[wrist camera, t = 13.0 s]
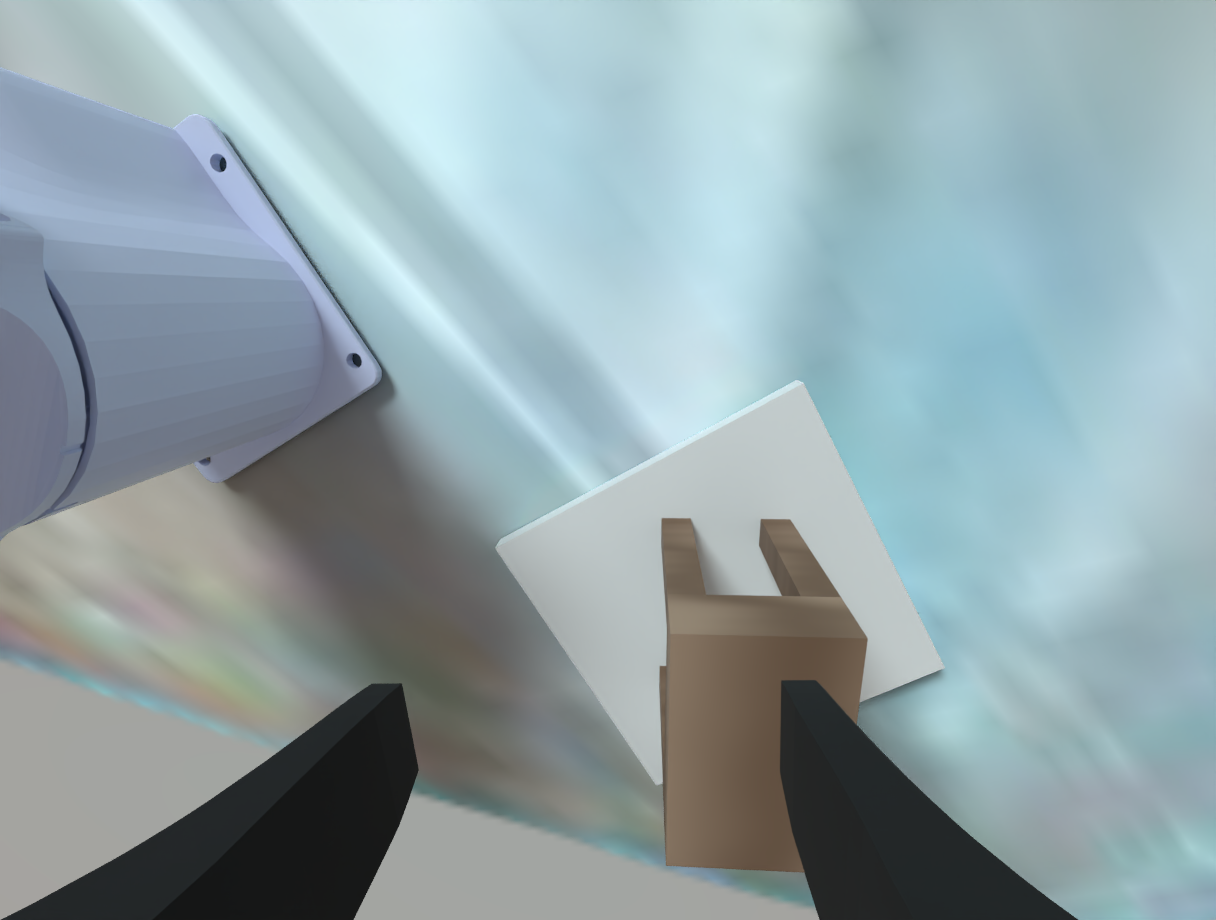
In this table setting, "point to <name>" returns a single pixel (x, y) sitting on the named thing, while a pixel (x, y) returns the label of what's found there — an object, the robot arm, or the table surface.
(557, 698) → the table surface
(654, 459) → the mat
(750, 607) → the brown forked block
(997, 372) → the table surface
